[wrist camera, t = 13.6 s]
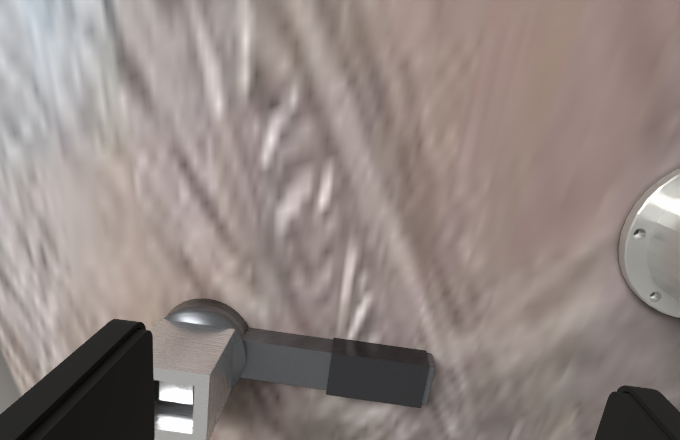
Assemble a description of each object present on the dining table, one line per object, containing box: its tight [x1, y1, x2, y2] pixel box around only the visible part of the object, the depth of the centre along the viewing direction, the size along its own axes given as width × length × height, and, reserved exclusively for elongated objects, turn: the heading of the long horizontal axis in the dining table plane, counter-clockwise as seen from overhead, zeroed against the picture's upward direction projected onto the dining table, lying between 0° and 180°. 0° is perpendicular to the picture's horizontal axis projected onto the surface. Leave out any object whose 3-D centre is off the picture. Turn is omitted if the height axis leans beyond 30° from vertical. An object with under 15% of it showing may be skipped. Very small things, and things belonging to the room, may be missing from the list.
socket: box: [151, 319, 235, 440], centre depth 33 cm, size 6×6×6 cm
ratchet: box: [159, 299, 435, 408], centre depth 35 cm, size 24×8×6 cm, turn 83°
